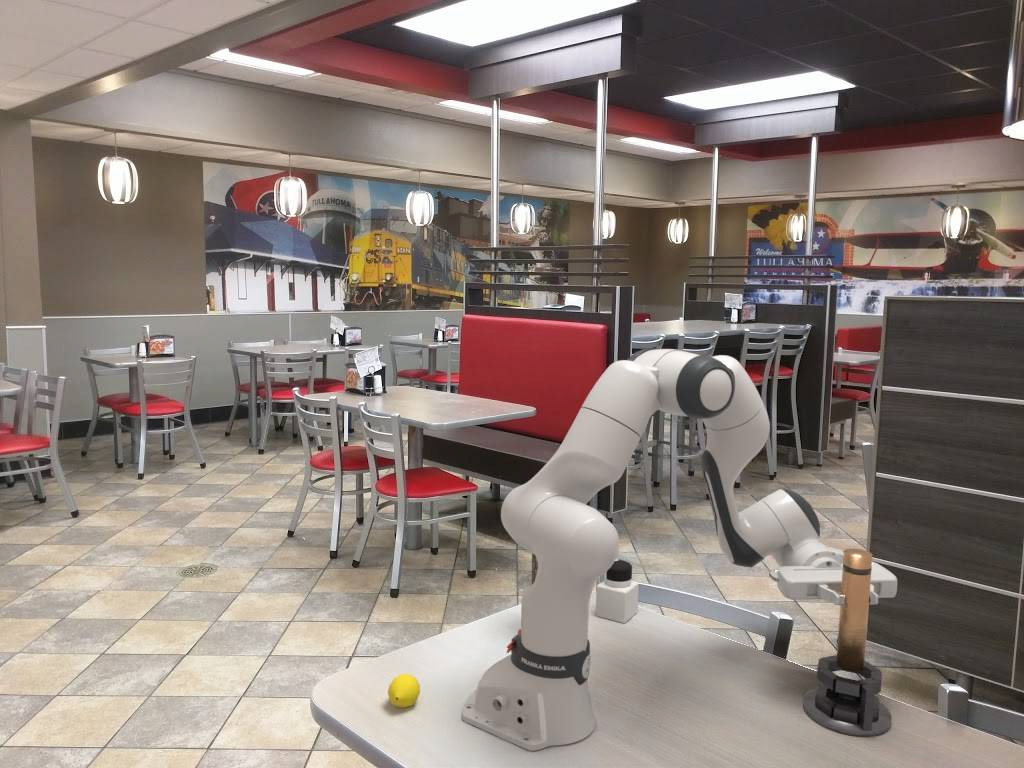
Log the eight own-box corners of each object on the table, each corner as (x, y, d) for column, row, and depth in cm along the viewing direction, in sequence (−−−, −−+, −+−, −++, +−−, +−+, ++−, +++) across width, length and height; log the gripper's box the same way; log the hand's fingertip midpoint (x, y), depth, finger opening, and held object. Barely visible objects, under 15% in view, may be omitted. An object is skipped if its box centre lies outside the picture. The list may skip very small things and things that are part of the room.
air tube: (835, 668, 133) (843, 555, 131) (837, 657, 137) (844, 547, 135) (863, 674, 131) (872, 559, 129) (864, 662, 135) (872, 551, 133)
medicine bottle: (638, 612, 176) (639, 561, 174) (624, 624, 170) (626, 570, 168) (609, 605, 179) (610, 554, 178) (595, 616, 173) (596, 564, 172)
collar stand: (798, 723, 132) (801, 678, 131) (807, 685, 145) (810, 644, 144) (890, 745, 126) (894, 698, 125) (891, 704, 139) (894, 661, 138)
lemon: (396, 696, 140) (397, 666, 140) (425, 700, 139) (426, 670, 139) (380, 712, 133) (382, 680, 133) (410, 716, 132) (412, 684, 132)
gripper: (766, 554, 144) (798, 583, 131) (873, 553, 146) (916, 581, 132) (764, 587, 145) (796, 620, 131) (870, 585, 147) (913, 617, 133)
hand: (857, 600), depth 132 cm, fingers closed on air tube, 4 cm apart
